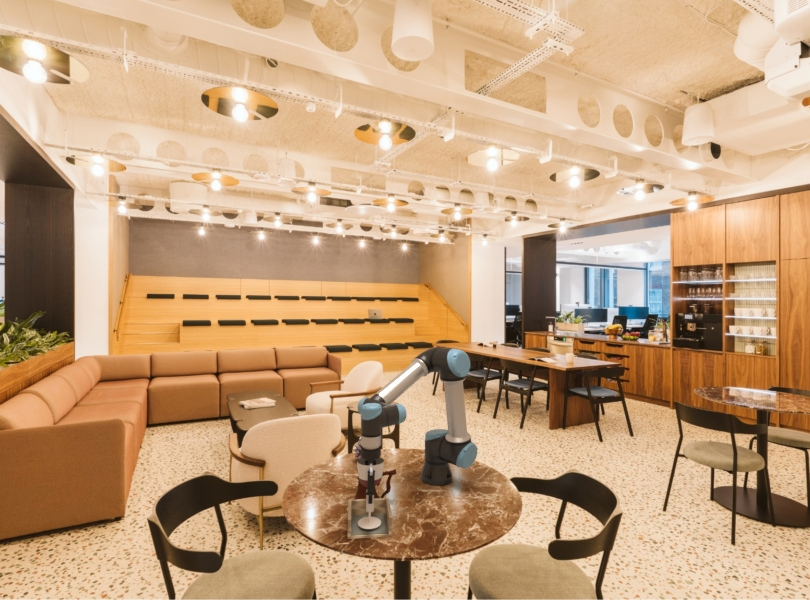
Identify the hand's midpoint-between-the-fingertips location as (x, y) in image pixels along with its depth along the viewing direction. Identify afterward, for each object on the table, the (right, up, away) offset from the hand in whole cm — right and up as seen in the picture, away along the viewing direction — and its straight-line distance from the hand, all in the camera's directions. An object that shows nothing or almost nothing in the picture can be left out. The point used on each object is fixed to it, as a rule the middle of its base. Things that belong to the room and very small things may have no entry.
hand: (369, 509), depth 153 cm
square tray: (0, -7, +1) cm, 7 cm away
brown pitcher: (0, -8, +19) cm, 20 cm away
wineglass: (0, -5, 0) cm, 5 cm away
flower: (-9, -8, +64) cm, 65 cm away
